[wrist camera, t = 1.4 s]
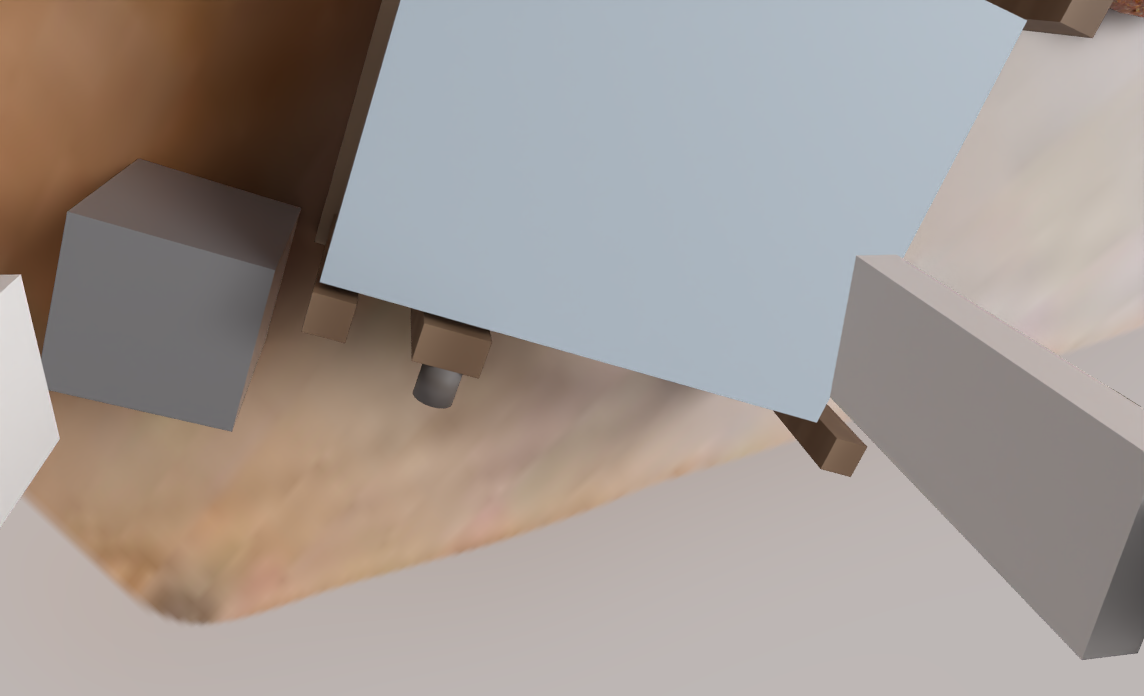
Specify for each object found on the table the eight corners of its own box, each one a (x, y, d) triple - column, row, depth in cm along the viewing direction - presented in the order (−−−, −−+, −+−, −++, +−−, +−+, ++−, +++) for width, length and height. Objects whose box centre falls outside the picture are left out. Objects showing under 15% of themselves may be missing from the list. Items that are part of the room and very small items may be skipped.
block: (109, 301, 32) (35, 387, 25) (138, 158, 30) (67, 211, 23) (265, 341, 33) (232, 431, 27) (301, 208, 31) (275, 270, 25)
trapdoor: (332, 235, 27) (319, 281, 23) (460, -214, 23) (471, -250, 19) (766, 365, 32) (816, 422, 28) (938, 12, 28) (1027, 20, 24)
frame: (308, 263, 32) (275, 367, 24) (464, -292, 26) (491, -407, 18) (749, 390, 38) (845, 510, 30) (961, -44, 32) (1154, -45, 24)
